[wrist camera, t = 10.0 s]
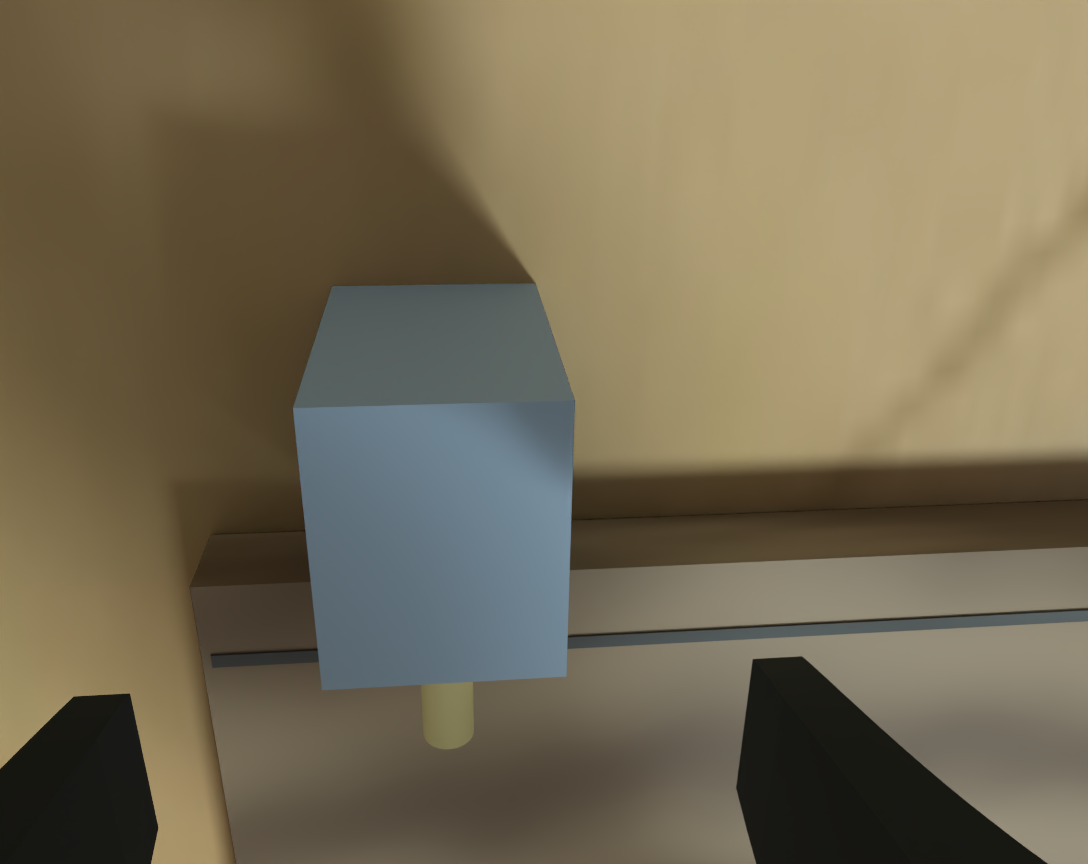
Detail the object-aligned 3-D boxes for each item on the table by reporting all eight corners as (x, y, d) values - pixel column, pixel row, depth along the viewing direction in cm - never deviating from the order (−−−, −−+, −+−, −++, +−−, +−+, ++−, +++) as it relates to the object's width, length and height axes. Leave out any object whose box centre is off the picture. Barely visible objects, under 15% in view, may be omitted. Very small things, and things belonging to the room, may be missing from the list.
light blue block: (531, 612, 23) (562, 810, 17) (359, 621, 22) (335, 826, 17) (535, 282, 19) (574, 400, 14) (332, 285, 19) (292, 408, 14)
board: (1294, 838, 29) (1353, 897, 27) (269, 919, 26) (256, 990, 24) (1460, 484, 24) (1546, 527, 22) (210, 535, 21) (189, 589, 19)
